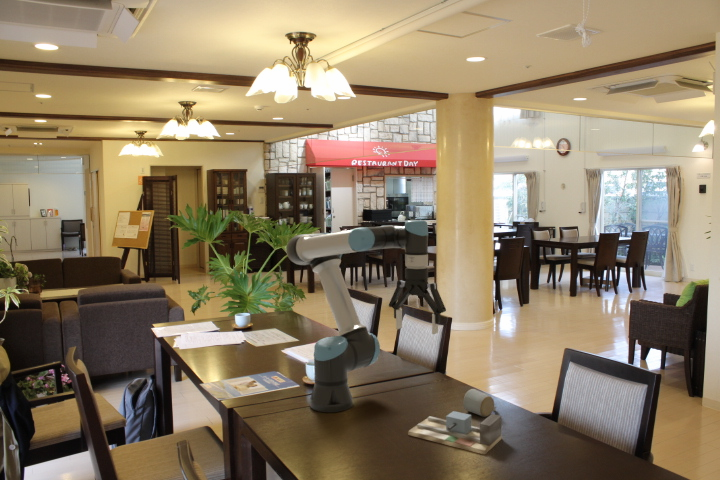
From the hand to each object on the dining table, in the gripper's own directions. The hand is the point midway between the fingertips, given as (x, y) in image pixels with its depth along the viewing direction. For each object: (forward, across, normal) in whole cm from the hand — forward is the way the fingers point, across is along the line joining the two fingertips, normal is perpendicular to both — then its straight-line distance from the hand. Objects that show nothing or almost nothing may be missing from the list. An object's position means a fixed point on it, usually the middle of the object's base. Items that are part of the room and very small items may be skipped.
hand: (416, 330), depth 192 cm
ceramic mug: (+29, +17, +14) cm, 36 cm away
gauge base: (+29, +18, -9) cm, 35 cm away
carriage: (+27, +19, -10) cm, 35 cm away
